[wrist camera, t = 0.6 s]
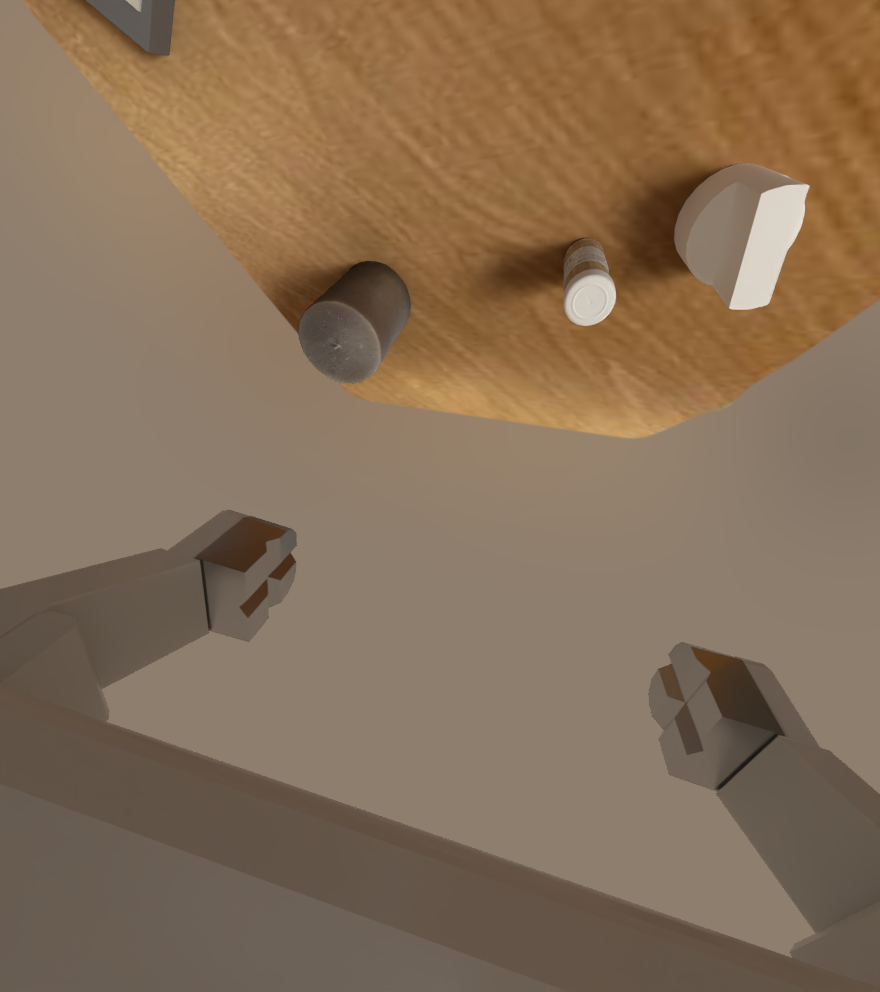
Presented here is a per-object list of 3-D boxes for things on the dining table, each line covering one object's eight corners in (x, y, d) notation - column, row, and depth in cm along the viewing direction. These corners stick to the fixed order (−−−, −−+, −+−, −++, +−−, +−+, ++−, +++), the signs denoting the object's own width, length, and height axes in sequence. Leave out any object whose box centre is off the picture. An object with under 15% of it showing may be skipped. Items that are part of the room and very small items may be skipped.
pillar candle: (342, 252, 51) (286, 293, 41) (416, 271, 51) (379, 318, 40) (343, 327, 58) (296, 378, 48) (408, 344, 58) (375, 399, 47)
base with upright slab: (683, 174, 39) (716, 197, 31) (794, 153, 37) (862, 171, 29) (666, 274, 45) (690, 315, 37) (760, 261, 43) (808, 303, 35)
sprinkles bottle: (587, 288, 48) (594, 335, 39) (554, 269, 47) (553, 313, 38) (613, 249, 45) (628, 290, 36) (579, 228, 44) (584, 265, 35)
